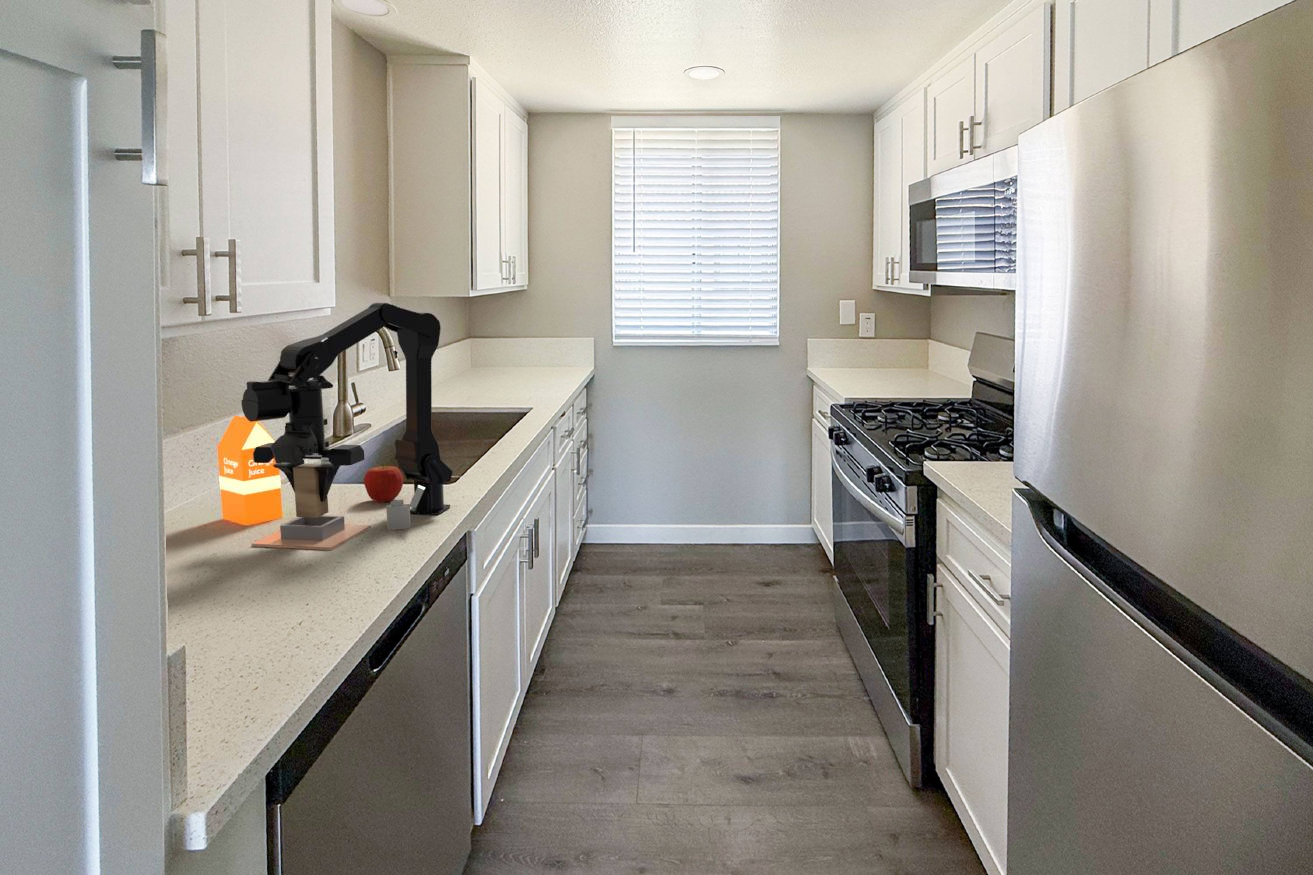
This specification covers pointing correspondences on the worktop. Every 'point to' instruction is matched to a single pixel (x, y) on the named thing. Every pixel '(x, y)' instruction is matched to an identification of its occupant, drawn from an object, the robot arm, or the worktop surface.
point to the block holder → (312, 533)
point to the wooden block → (308, 492)
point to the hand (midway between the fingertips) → (311, 500)
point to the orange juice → (247, 475)
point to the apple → (383, 483)
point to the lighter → (402, 511)
